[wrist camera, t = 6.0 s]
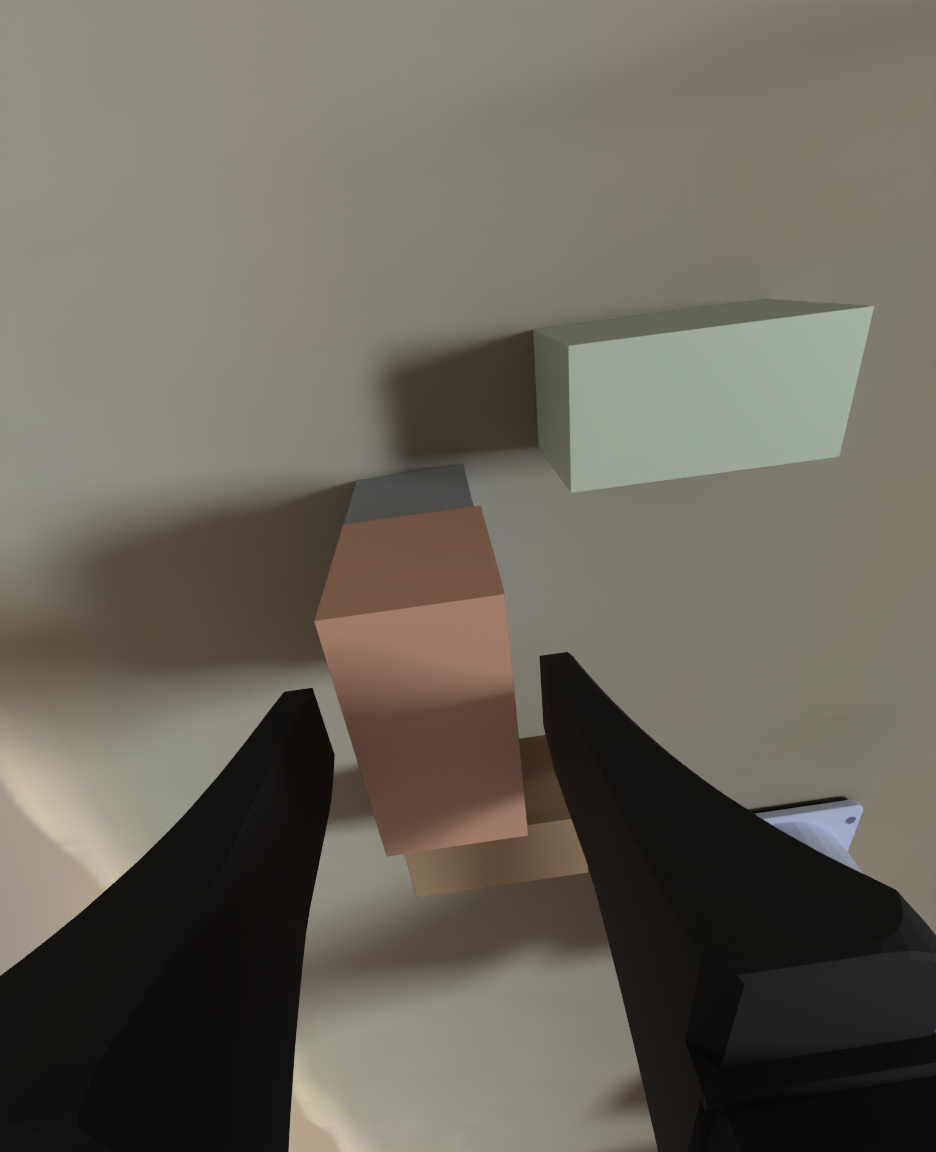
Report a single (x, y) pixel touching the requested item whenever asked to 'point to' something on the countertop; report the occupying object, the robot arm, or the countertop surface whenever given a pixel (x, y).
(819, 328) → the sage brick
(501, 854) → the walnut brick
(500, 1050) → the countertop surface
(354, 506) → the slate brick
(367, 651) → the terracotta brick
